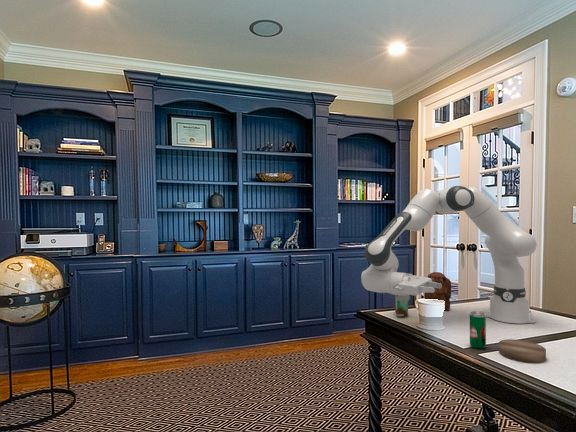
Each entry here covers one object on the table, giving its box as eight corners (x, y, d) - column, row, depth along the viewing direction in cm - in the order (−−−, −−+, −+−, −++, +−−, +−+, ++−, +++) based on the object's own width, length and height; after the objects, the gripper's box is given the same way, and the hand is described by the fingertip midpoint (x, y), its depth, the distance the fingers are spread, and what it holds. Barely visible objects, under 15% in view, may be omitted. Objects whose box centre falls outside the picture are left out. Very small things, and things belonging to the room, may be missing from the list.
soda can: (466, 344, 132) (466, 310, 132) (480, 344, 132) (480, 310, 132) (475, 349, 127) (474, 314, 127) (489, 349, 127) (489, 314, 127)
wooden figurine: (425, 310, 179) (425, 273, 178) (424, 307, 185) (423, 271, 185) (452, 311, 176) (452, 273, 176) (449, 308, 182) (449, 271, 182)
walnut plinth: (501, 345, 131) (501, 336, 131) (546, 353, 123) (546, 344, 123) (496, 357, 120) (496, 347, 120) (545, 366, 113) (545, 356, 112)
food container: (411, 319, 164) (411, 296, 164) (397, 318, 165) (397, 296, 165) (408, 312, 176) (408, 291, 176) (395, 311, 177) (395, 290, 177)
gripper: (390, 279, 137) (429, 283, 129) (409, 272, 153) (444, 275, 145) (390, 296, 137) (429, 301, 129) (409, 287, 153) (444, 292, 145)
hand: (437, 288), depth 137 cm, fingers open, 8 cm apart
